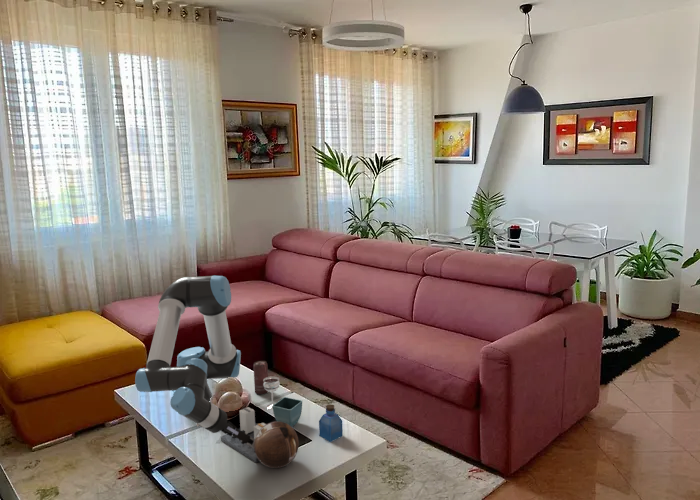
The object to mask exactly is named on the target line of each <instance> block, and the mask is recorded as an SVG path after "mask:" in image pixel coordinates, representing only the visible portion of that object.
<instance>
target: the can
mask: <svg viewBox="0 0 700 500" xmlns="http://www.w3.org/2000/svg"><path fill="white" fill-rule="evenodd" d="M268 369H269V368H268V363H267V361H266V360H256V361H254V362H253V381H254V382H253V384H254V385H253V386H254V393H255V394H256V395H259V396H261V395H262V396H263V395H266V394H268V393H269V392H268V391H267V390H265V388H264V386H263V384H264V381H263V380H264V379H265V378H267V377H269V372H268V371H269V370H268Z"/></svg>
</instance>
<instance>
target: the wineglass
mask: <svg viewBox="0 0 700 500" xmlns="http://www.w3.org/2000/svg"><path fill="white" fill-rule="evenodd" d="M263 381H264V384H263V386H264V388H265V390H267V391H268V393H270V396H271V403H270V404H268V405H267V406H266V408H267V410H268V409H269V410H273V407H272V406H273V405H274V404H275V403H274V392H276V391H277V390H278V389H279V388H280V377H279V376H278V377H277V376H268V377H267V378H265V379H264V380H263Z"/></svg>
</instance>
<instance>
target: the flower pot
mask: <svg viewBox="0 0 700 500" xmlns="http://www.w3.org/2000/svg"><path fill="white" fill-rule="evenodd" d="M273 404H274V405H273V406H272V407H273V409H272V411H273V416H274V419H275V421H280V422H284V423H287V424H288V425H290V426H291V427H292V428H293V427H294V426H295V425H296V424H297V423H298V422H299V420H300V419H301V417H302V410H303V400H301V399H298V398H297V399H296V398H291V397H286V396H284V397H282V398H281V399H280V400H278V401H277V402H276V403H273Z"/></svg>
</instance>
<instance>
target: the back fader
mask: <svg viewBox="0 0 700 500" xmlns="http://www.w3.org/2000/svg"><path fill="white" fill-rule="evenodd" d="M255 412H256V411H255V410H254V409H253V408H251V407H249V406H246V407H244V408H242V409H240V410H239V423H240V424H239V426H240V427H239V429H240V428H241V431H243V430H244V431H245V433H246V434H248V433H250V432H252V431H254V426H255V423H256V417H255V416H256V413H255Z"/></svg>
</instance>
